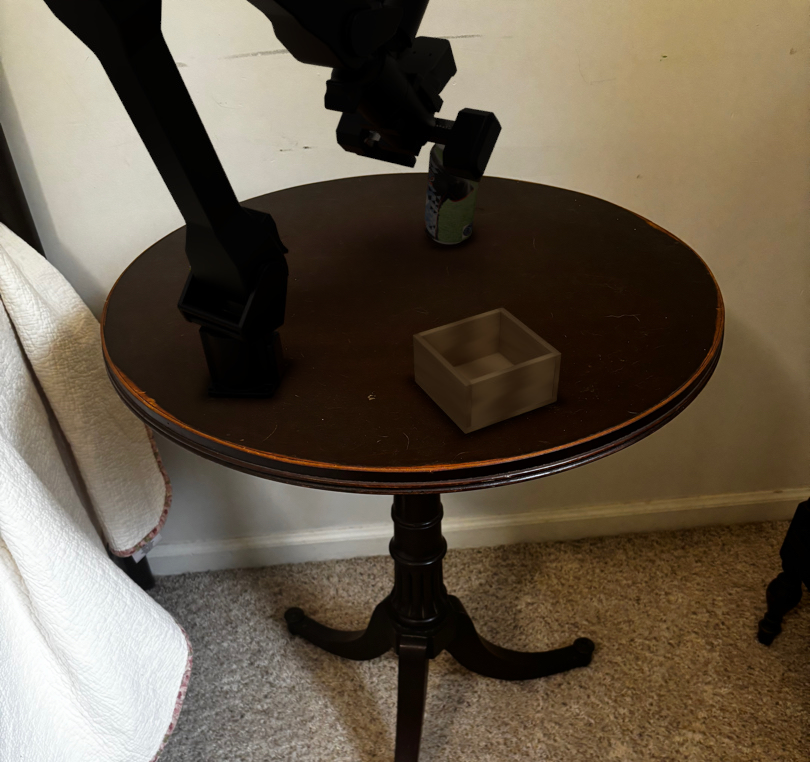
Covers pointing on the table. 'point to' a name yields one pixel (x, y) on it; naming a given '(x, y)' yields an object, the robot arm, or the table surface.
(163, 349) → the table surface
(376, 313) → the table surface
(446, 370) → the holder
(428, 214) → the beverage can
